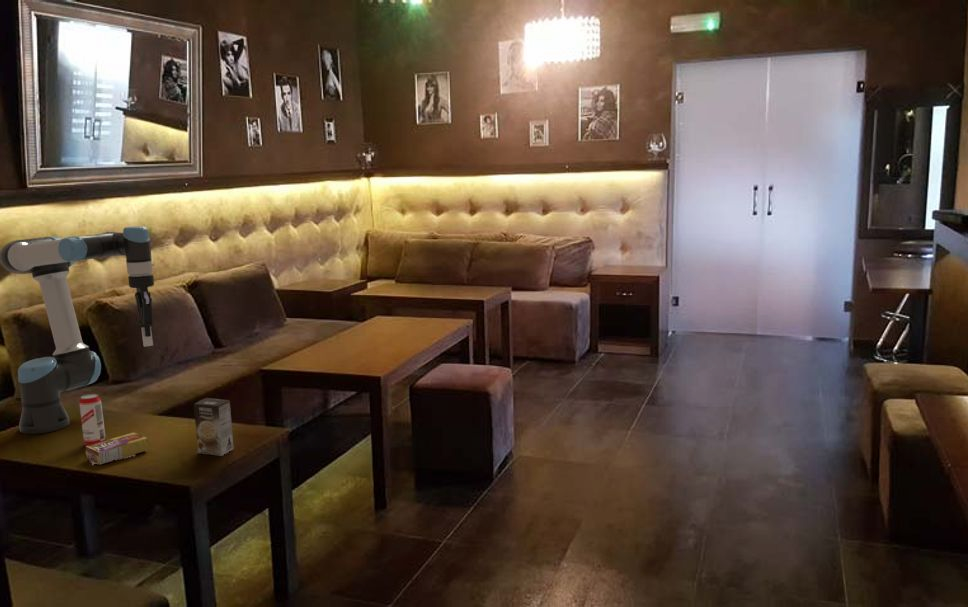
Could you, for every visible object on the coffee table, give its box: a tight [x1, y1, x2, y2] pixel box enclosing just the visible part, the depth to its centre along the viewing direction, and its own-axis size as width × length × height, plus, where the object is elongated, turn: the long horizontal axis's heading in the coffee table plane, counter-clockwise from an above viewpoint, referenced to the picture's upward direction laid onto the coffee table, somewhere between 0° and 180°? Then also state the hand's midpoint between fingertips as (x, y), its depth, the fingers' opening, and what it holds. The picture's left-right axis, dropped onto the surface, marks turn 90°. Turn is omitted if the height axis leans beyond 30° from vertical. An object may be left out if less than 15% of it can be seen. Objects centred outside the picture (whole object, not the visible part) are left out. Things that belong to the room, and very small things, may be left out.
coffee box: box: [193, 397, 234, 457], centre depth 244 cm, size 9×6×16 cm
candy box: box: [85, 432, 149, 465], centre depth 243 cm, size 9×4×15 cm
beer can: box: [79, 393, 107, 446], centre depth 254 cm, size 6×6×16 cm
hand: (148, 345), depth 260 cm, fingers closed
